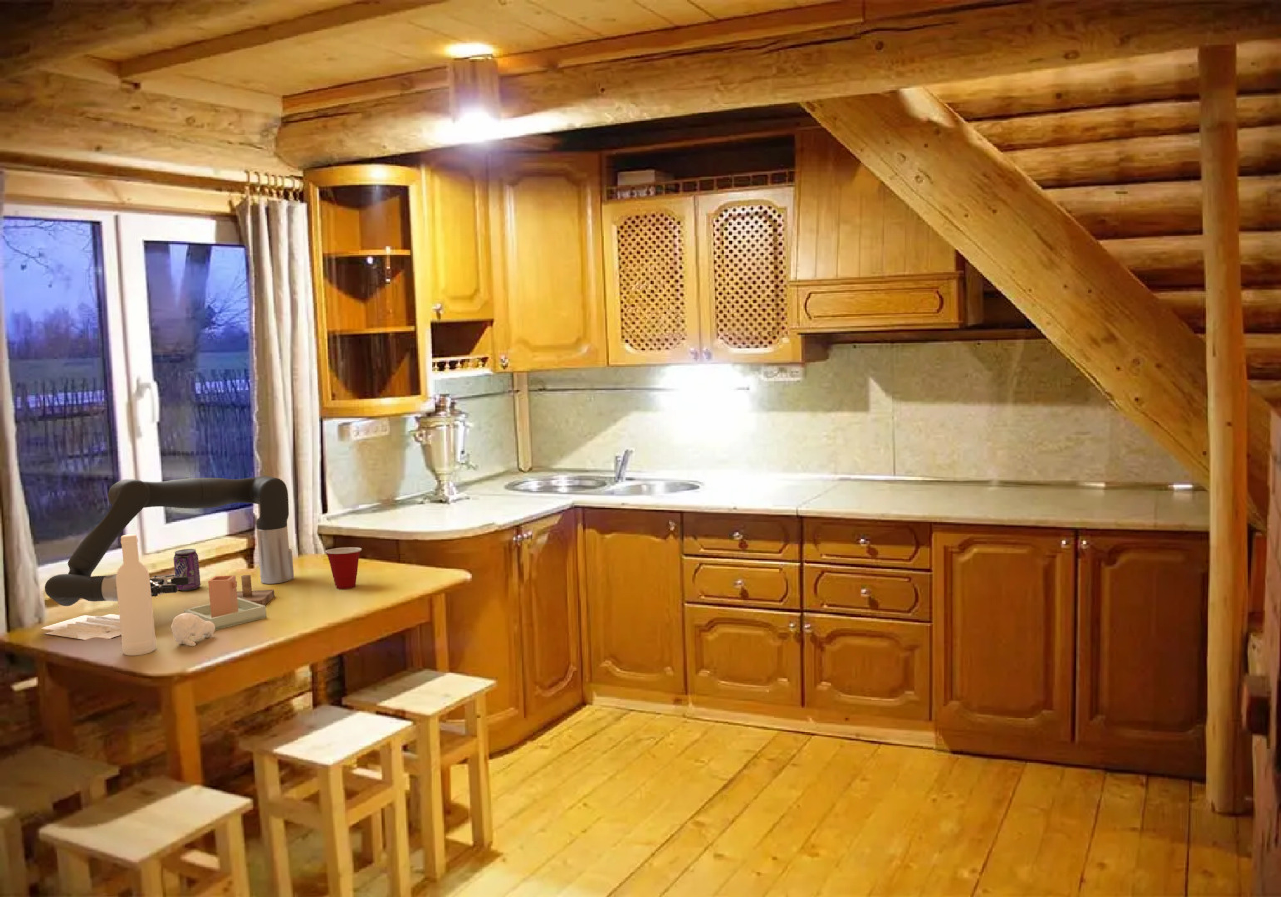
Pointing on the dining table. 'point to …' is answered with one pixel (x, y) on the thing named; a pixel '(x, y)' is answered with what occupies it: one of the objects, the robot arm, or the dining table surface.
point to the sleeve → (223, 595)
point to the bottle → (134, 601)
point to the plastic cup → (344, 566)
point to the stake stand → (254, 592)
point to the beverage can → (187, 568)
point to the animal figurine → (190, 628)
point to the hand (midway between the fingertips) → (182, 584)
